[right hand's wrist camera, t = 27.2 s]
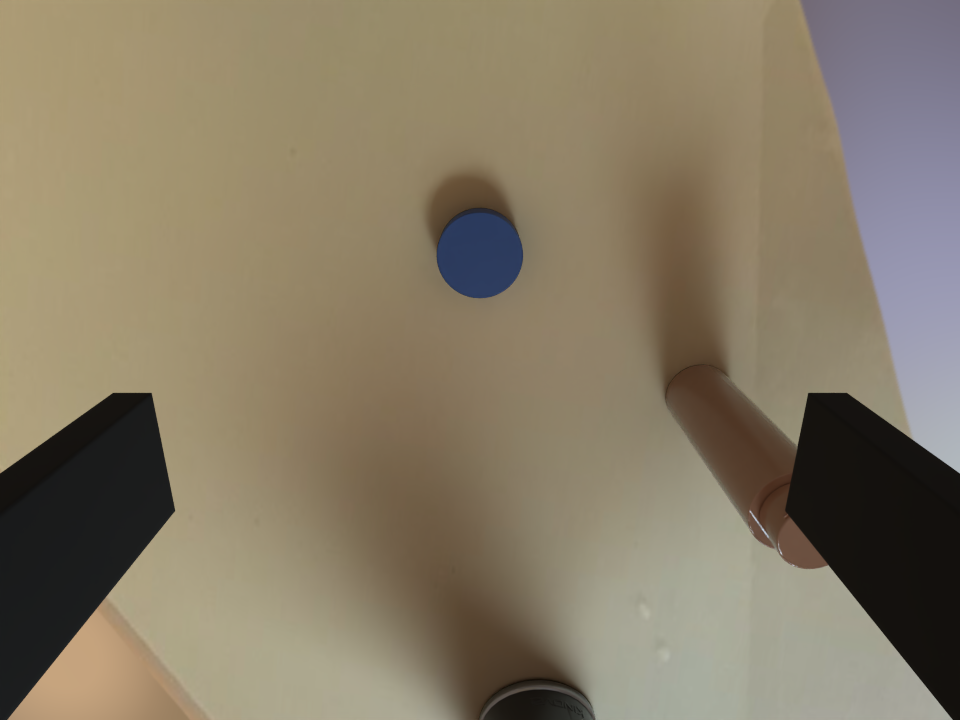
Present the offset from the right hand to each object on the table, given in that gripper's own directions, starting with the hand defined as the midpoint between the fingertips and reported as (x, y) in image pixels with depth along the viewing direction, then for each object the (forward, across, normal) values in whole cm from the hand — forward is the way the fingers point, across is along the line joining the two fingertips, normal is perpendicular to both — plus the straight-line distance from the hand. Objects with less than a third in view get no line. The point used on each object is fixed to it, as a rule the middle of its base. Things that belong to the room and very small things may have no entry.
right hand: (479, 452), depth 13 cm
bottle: (+26, +14, -10) cm, 31 cm away
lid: (+24, 0, 0) cm, 24 cm away
